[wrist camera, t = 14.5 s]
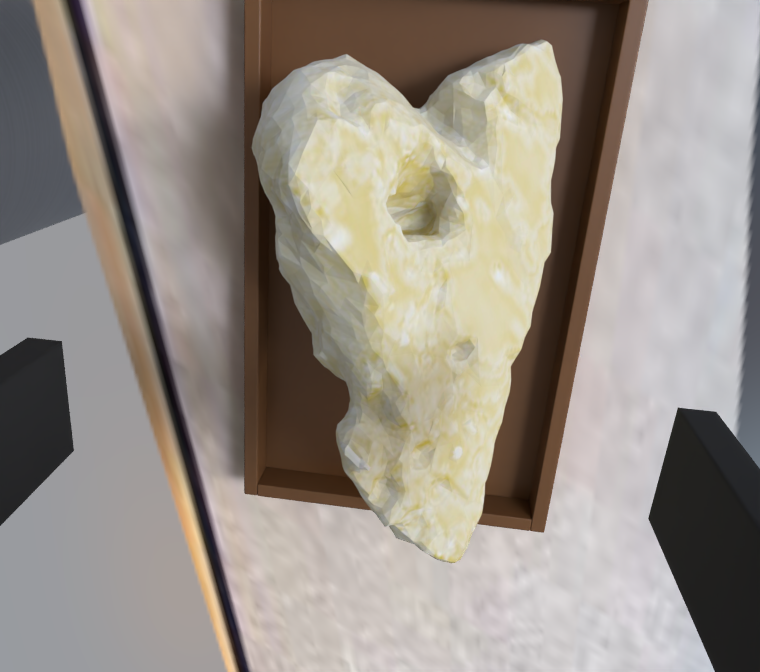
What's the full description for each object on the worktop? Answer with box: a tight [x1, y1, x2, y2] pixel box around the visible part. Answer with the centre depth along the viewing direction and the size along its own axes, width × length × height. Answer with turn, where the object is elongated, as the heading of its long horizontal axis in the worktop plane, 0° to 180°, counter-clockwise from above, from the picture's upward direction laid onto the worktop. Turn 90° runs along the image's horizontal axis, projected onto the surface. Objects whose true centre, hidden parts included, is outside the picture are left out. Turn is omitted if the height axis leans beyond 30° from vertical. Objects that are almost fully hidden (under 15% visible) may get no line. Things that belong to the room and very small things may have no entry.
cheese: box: [252, 39, 563, 563], centre depth 24 cm, size 15×7×15 cm
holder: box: [244, 0, 649, 532], centre depth 27 cm, size 13×21×2 cm, turn 176°
